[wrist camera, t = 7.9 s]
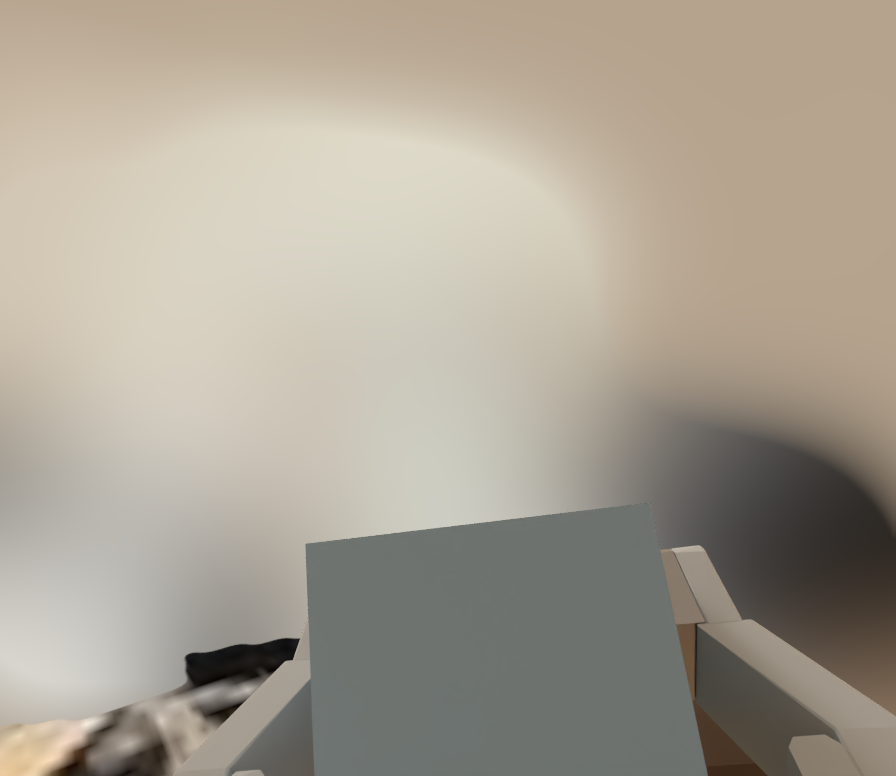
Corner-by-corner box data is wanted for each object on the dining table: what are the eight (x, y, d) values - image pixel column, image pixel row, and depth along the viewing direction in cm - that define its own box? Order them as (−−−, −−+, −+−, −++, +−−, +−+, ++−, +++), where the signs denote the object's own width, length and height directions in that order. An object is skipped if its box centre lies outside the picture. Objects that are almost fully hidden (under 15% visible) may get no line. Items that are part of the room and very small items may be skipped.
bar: (321, 961, 5) (306, 543, 6) (495, 616, 26) (484, 532, 27) (746, 956, 5) (650, 502, 6) (577, 608, 26) (563, 523, 27)
